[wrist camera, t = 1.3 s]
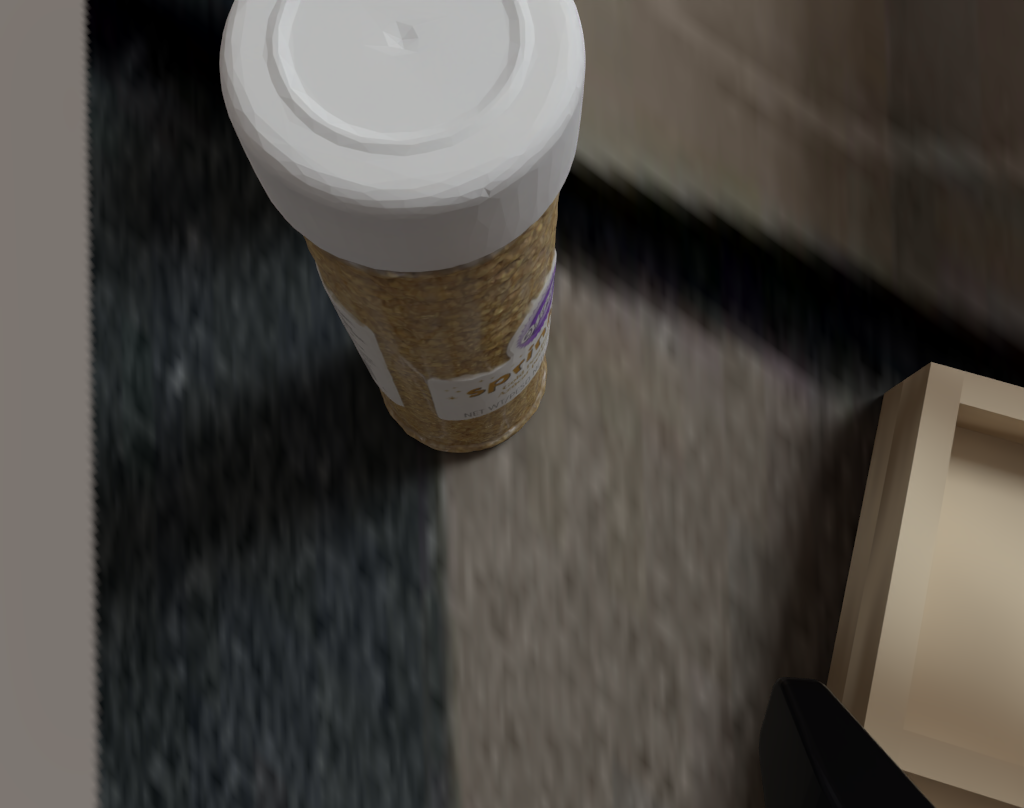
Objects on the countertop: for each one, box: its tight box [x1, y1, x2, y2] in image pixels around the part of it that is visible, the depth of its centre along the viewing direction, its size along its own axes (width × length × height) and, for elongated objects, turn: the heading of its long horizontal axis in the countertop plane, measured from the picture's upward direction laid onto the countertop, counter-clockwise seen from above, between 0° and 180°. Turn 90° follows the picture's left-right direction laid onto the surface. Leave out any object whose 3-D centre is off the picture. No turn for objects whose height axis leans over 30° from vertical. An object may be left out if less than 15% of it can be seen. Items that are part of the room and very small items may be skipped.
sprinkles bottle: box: [219, 0, 585, 453], centre depth 17 cm, size 5×5×13 cm
